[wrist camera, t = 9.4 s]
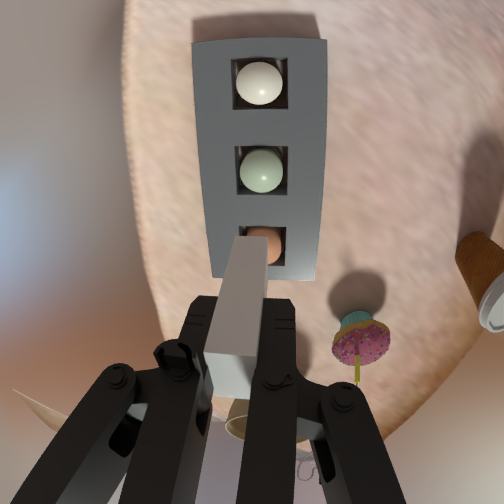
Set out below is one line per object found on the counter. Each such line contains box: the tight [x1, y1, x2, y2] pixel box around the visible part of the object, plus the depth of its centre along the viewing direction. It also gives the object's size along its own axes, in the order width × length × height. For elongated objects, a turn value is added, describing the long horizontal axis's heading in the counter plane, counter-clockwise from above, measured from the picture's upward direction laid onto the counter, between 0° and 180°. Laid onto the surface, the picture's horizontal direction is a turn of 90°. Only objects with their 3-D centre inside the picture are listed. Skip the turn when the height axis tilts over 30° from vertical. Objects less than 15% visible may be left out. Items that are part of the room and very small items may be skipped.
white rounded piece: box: [236, 62, 282, 105], centre depth 23 cm, size 4×4×4 cm
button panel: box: [192, 37, 327, 281], centre depth 28 cm, size 26×12×3 cm, turn 2°
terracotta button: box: [246, 226, 281, 264], centre depth 32 cm, size 4×4×4 cm
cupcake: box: [332, 311, 390, 386], centre depth 36 cm, size 9×8×12 cm
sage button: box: [240, 146, 283, 193], centre depth 28 cm, size 4×4×4 cm
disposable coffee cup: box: [455, 232, 504, 332], centre depth 27 cm, size 10×10×12 cm
